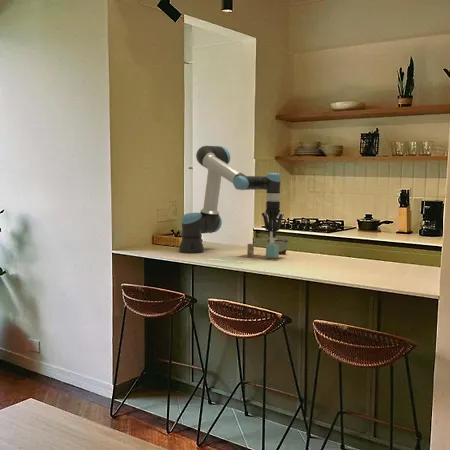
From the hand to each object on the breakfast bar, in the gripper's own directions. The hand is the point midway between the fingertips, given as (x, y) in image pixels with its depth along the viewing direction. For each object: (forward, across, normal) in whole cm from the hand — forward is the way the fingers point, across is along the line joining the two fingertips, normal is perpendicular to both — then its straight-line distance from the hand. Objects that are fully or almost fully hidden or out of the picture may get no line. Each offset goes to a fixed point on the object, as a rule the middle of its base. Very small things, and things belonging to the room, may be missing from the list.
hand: (272, 243), depth 313 cm
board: (+9, -6, 0) cm, 11 cm away
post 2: (+9, 0, 0) cm, 9 cm away
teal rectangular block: (+8, 0, 0) cm, 8 cm away
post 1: (+9, -14, 0) cm, 16 cm away
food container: (+10, -6, +18) cm, 21 cm away
